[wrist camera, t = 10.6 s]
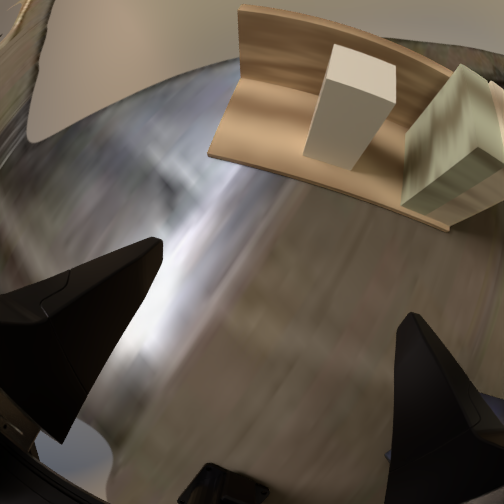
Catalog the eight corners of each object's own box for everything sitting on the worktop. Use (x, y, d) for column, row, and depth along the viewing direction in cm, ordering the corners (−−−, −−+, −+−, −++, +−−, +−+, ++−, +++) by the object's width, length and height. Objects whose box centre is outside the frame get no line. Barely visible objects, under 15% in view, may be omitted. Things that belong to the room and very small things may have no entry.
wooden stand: (446, 232, 24) (537, 189, 11) (207, 156, 25) (178, 52, 13) (447, 143, 26) (510, 81, 13) (244, 74, 27) (241, -23, 15)
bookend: (350, 170, 24) (395, 103, 14) (302, 155, 24) (326, 78, 15) (356, 136, 25) (395, 66, 15) (311, 121, 25) (334, 43, 15)
